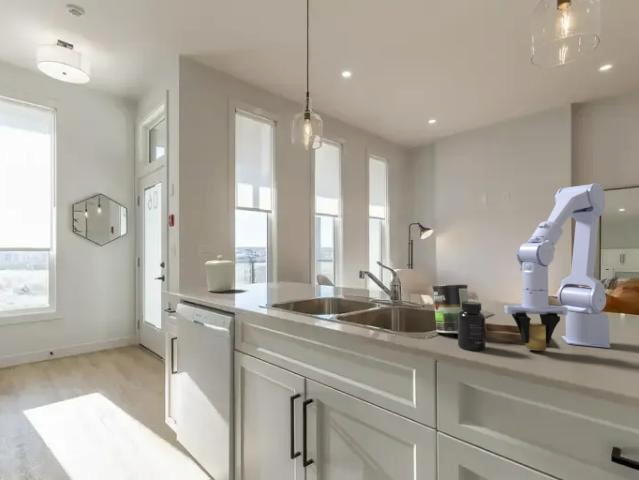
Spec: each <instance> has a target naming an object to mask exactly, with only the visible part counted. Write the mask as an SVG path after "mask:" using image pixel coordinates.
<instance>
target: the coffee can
mask: <svg viewBox="0 0 639 480" xmlns="http://www.w3.org/2000/svg"><path fill="white" fill-rule="evenodd" d="M431 288H432V294H433V302H434V303H433V304H434V315H435V328H436V331H435V332H436V333H441V334H458V314H459V313H460V312H462V311H463V310H462V309H461V307H462V302H465V301H469V294H468V293H469V292H468V284H446V285H445V284H444V285H443V284H441V285H432V287H431Z"/></svg>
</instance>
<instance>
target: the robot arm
mask: <svg viewBox="0 0 639 480" xmlns="http://www.w3.org/2000/svg"><path fill="white" fill-rule="evenodd" d="M554 201H555V205H554V206H553V209H552V211H551V213H550V214H549V216H548V218H547V220H545V221H542V222H540V223H539V224H538V226H537V227H536V229H535V231H534V232H533V233H532V235H531V237H530V238H529V240H528V241H527V242H524V243H522V244H521V245H519V247H518V248H517V253H515V256H516V260H517V262H518V264H519V269H520V271H521V280H522V281H521V289H522V290H521V292H522V294H521V295H522V296H521V297H522V299H521V301H522V304H513V305H509V304H508V305H504V307H503V309H504V310H503V313H505V314H506V315H511V316H512V318H513V320H514V322H515V324H516V326H518V328H519V331H520V335H521V339H522V341H523V342H524V343H529V324H530V323H531V320H532V318H531V317H529V316H528V315H539V319H540V324H544V325H546V343H547V344H550V345H551V339H552V336H553V333H554V331H555V329H556V327H557V325H558V324H559V322H560V321H561V316H565V335H561V338H562V340H564V341H565V342H566V344H568V345H573V346H574V345H575V346H587V347H596V348H607V349H610V348H611V345H610V319H609V316H608V314H607V313H606V312H603V309H605V307H606V304H607V297H606V289H605V288H606V287H605V285H604V284H603V283H602V282H601V281H599V279H597V278H596V277H595V276H594V273H595V264H596V255H597V254H596V252H597V241H598V230H599V222H600V221H599V220H600V217H601V216H602V215H604V214H605V212H604V211H605V202H606V192H605V191H604V188H603V186H601V185H600V183H599V182H593V183H590V184H582V185H576V186H570V187H568V186H567V187H561V188H559V189H558V190H557V192H556V194H555V196H554ZM569 218H573V219H574V221H575V226H574V227H575V230H574V238H573V239H574V240H573V248H572V249H573V251H572V259H571V270H570V271H571V272H570V274H569V276H567V277H565V278H563V279H562V280H561V282H560V283H561V284H560V287H559V289H558V290H557V301H558V303H559V305H549V265H550V264H551V263H552V262H553V260H554V257H555V256H554V255H555V251H556V245H557V244H558V241H559V240H560V239H561V237H562V236H563V233H564V231H563V229H562V226H563V225H564V224H565V223H566V221H568V219H569ZM560 305H561V306H560ZM601 311H602V312H601ZM560 315H561V316H560Z"/></svg>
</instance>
